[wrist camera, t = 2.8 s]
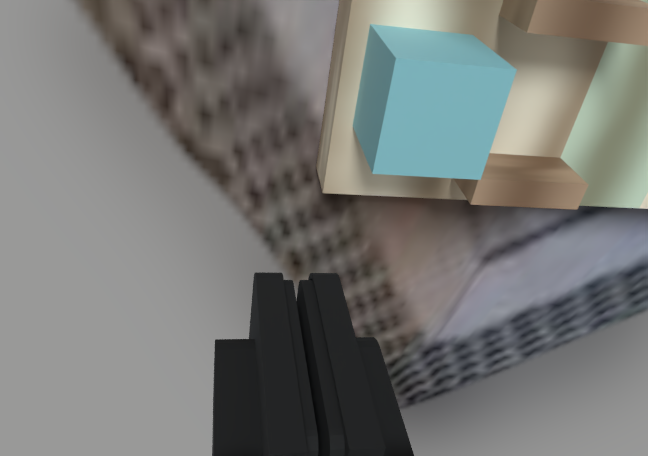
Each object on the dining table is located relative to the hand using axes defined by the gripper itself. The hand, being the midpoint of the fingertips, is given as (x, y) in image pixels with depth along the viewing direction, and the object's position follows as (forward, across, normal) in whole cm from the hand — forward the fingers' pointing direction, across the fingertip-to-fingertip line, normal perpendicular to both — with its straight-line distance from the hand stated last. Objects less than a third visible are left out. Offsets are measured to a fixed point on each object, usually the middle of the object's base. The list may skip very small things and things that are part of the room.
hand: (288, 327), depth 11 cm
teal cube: (+17, -8, 0) cm, 19 cm away
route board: (+20, -18, 0) cm, 27 cm away
